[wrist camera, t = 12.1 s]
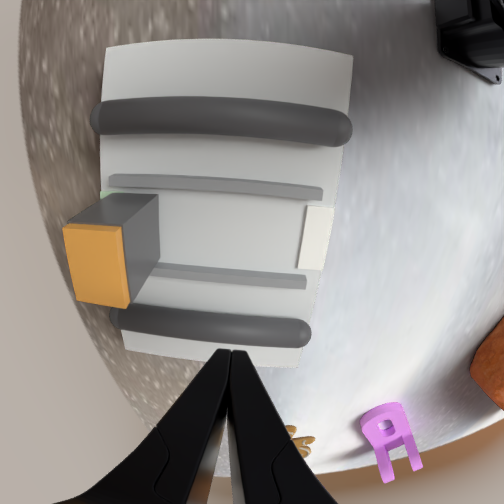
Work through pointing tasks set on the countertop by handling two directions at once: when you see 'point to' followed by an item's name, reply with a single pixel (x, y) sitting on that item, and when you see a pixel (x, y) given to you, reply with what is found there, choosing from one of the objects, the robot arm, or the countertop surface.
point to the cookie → (300, 441)
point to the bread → (491, 365)
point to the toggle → (113, 248)
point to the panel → (226, 188)
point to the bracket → (389, 436)
